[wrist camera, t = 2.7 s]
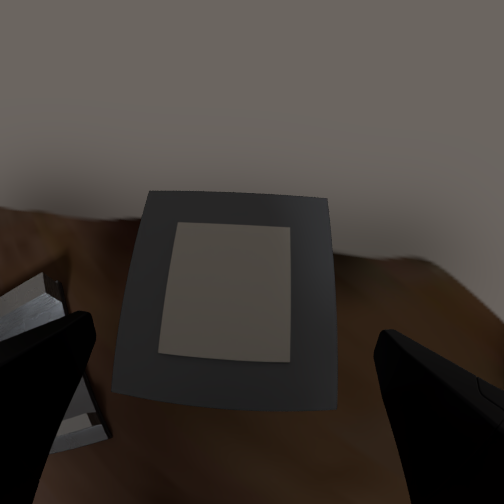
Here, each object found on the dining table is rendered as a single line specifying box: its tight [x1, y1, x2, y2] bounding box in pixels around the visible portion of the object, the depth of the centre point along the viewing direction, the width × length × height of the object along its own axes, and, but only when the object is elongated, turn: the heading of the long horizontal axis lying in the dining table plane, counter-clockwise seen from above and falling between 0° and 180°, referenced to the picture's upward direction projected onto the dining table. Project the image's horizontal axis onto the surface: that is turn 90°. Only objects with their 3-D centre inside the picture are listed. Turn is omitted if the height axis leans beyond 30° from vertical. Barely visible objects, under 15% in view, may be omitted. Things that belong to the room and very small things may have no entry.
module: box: [111, 191, 338, 411], centre depth 11 cm, size 5×5×11 cm
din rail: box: [0, 272, 112, 454], centre depth 13 cm, size 11×12×3 cm
